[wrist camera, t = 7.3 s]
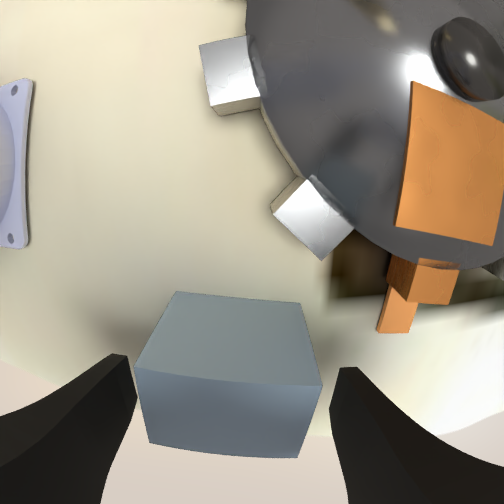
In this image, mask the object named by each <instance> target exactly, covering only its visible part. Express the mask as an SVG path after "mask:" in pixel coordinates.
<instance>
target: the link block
mask: <svg viewBox="0 0 504 504" xmlns="http://www.w3.org/2000/svg"><path fill="white" fill-rule="evenodd" d="M134 372H135V378H136V383H137V389H138V394H139V399H140V404H141V409H142V413H143V417H144V422H145V426H146V431H147V435H148V439H149V443H153V444H157V445H162V446H167V447H172V448H178V449H184V450H190V451H197V452H204V453H212V454H222V455H231V456H243V457H262V458H297V457H298V454H299V452H300V449H301V447H302V444H303V441H304V439H305V436H306V433H307V431H308V428H309V425H310V422H311V419H312V417H313V414H314V411H315V408H316V405H317V402H318V399H319V396H320V393H321V389H322V386H323V385H322V381H321V378H320V374H319V370H318V366H317V362H316V359H315V355H314V351H313V348H312V344H311V340H310V337H309V333H308V329H307V326H306V322H305V319H304V315H303V311H302V308H301V304H300V303H294V302H281V301H269V300H257V299H246V298H235V297H225V296H215V295H206V294H197V293H188V292H179V291H176V292H175V294H174V296H173V297H172V299H171V301H170V303H169V304H168V306H167V308H166V310H165V311H164V313H163V315H162V317H161V318H160V320H159V322H158V324H157V325H156V327H155V329H154V331H153V332H152V334H151V336H150V338H149V340H148V341H147V343H146V345H145V347H144V349H143V350H142V352H141V354H140V356H139V358H138V360H137V361H136V363H135V365H134Z"/></svg>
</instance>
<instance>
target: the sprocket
mask: <svg viewBox="0 0 504 504" xmlns="http://www.w3.org/2000/svg"><path fill="white" fill-rule="evenodd" d="M245 28H246V35H245V36H240V37H234V38H229V39H224V40H220V41H215V42H211V43H206V44H202V45H199V50H200V55H201V60H202V65H203V70H204V76H205V81H206V86H207V91H208V96H209V101H210V106H211V107H212V108H213V109H214V111H215V112H216V113H217V114H218V115H219V116H223V115H227V114H232V113H237V112H242V111H247V110H252V109H258V108H260V111H261V113H262V116H263V119H264V121H265V124H266V126H267V128H268V130H269V131H270V133H271V135H272V137H273V139H274V141H275V143H276V145H277V147H278V149H279V150H280V152H281V153H282V155H283V156H284V157H285V159H286V160H287V162H288V163H289V165H290V166H291V168H292V169H293V171H294V172H295V174H296V175H297V177H296V178H295V179H294V180H293V181H292V182H291V183H290V184H289V185H288V186H287V187H286V188H285V189H284V190H283V191H282V192H281V194H280V195H279V196H278V197H277V198H276V199H275V200H274V201H273V202H272V203H271V204H270V206H271V210H272V213H273V215H274V216H275V217H276V218H277V219H278V220H279V221H280V222H281V223H282V224H283V225H284V226H286V227H287V228H288V229H289V230H290V231H291V232H292V233H293V234H294V235H295V236H296V237H297V238H298V239H299V240H300V241H301V242H302V243H303V244H304V245H305V246H306V247H307V248H309V249H310V250H311V251H312V252H313V253H314V254H315V255H316V256H317V257H318V258H319V259H320V260H321V261H322V260H323V259H324V258H325V257H326V256H327V255H328V254H329V253H330V252H331V251H332V250H333V249H334V248H335V247H336V246H337V245H338V244H339V243H340V242H341V241H342V240H343V239H344V238H345V237H346V236H347V235H348V234H349V233H350V232H351V231H352V230H353V229H356V230H357V231H358V232H360V233H361V234H362V235H364V236H365V237H366V238H367V239H369V240H370V241H371V242H373V243H375V244H376V245H378V246H380V247H382V248H383V249H385V250H387V251H388V252H390V253H392V257H391V261H390V265H389V269H388V272H387V276H386V281H387V282H388V283H389V284H390V285H391V286H392V287H393V288H394V289H395V291H396V292H397V293H398V294H399V295H400V296H401V297H402V298H403V299H404V300H405V301H406V302H413V303H428V304H446V305H448V304H449V301H450V298H451V295H452V292H453V289H454V286H455V283H456V280H457V276H458V273H459V270H464V269H471V268H477V267H481V266H482V268H484V269H486V270H487V271H489V272H490V273H492V274H494V275H495V276H497V277H499V278H500V279H502V280H503V281H504V0H247V10H246V23H245Z"/></svg>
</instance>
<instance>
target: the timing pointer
mask: <svg viewBox="0 0 504 504" xmlns="http://www.w3.org/2000/svg"><path fill="white" fill-rule="evenodd" d="M417 306H418V303H413V302H406V301H405V300H404V299H403V298H402V297H401V296H400V295H399V294H398V293H397V292H396V291H395V289H394V288H393V287H392V286H391V285H390V284H389V287H388V291H387V295H386V298H385V302H384V306H383V309H382V313H381V316H380V319H379V323H378V326H377V329H376V330H377V332H378V333H408V332H409V330H410V327H411V324H412V321H413V318H414V315H415V312H416V309H417Z"/></svg>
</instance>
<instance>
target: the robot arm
mask: <svg viewBox="0 0 504 504" xmlns="http://www.w3.org/2000/svg"><path fill="white" fill-rule="evenodd" d="M17 89H18V91H17ZM32 89H33V83H32V80H30V79H27V78H23V79H20V80H17V81H14V82H11V83H8V84H6V85H3V86H0V247H7V248H14V249H22V248H24V247H25V246H26V245H27V243H28V232H27V219H26V200H25V159H26V140H27V128H28V118H29V109H30V102H31V95H32ZM16 91H17V93H16ZM13 237H14V239H13ZM137 398H138V397H137V393H136V390H135V386H134V382H133V378H132V374H131V370H130V366H129V362H128V357H127V356H124V355H118V354H110V355H109V356H107V357H106V358H104V359H103V360H101V361H100V362H98V363H97V364H95V365H94V366H92V367H91V368H90V369H88V370H87V371H85V372H84V373H82V374H81V375H79V376H78V377H76V378H75V379H74V380H72V381H71V382H69V383H68V384H66V385H64V386H63V387H61V388H59V389H58V390H56V391H54V392H53V393H51V394H50V395H48V396H46V397H44V398H42V399H41V400H39V401H37V402H35V403H33V404H30V405H28V406H26V407H24V408H22V409H19V410H17V411H14V412H11V413H8V414H6V415H3V416H0V504H100V503H101V498H102V493H103V490H104V486H105V483H106V479H107V475H108V473H109V470H110V467H111V465H112V462H113V460H114V458H115V455H116V453H117V451H118V449H119V447H120V444H121V442H122V440H123V438H124V435H125V433H126V431H127V429H128V426H129V424H130V422H131V419H132V416H133V412H134V409H135V405H136V402H137ZM329 413H330V421H331V429H332V435H333V439H334V442H335V446H336V450H337V454H338V457H339V461H340V465H341V469H342V472H343V476H344V480H345V483H346V488H347V494H348V503H349V504H504V467H502V466H498V465H495V464H491V463H488V462H486V461H483V460H480V459H478V458H475V457H473V456H471V455H468V454H466V453H464V452H462V451H460V450H458V449H456V448H454V447H452V446H451V445H448V444H447V443H445V442H444V441H442V440H440V439H439V438H437V437H436V436H434V435H433V434H431V433H430V432H428V431H427V430H425V429H424V428H423V427H421V426H420V425H419V424H417V423H416V422H415V421H414V420H412V419H411V418H410V417H409V416H407V415H406V414H405V413H404V412H403V411H402V410H400V409H399V408H398V407H397V406H396V405H395V404H394V403H393V402H392V401H391V400H390V399H389V398H387V397H386V396H385V395H384V394H383V393H382V392H381V391H380V390H379V389H378V388H377V387H376V386H375V385H374V384H373V383H372V382H371V381H370V379H369V378H368V377H367V376H366V375H365V374H364V373H363V372H362V371H361V370H360V369H359V368H358V367H344V368H340V369H339V373H338V377H337V381H336V385H335V389H334V393H333V396H332V400H331V403H330V407H329Z"/></svg>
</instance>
